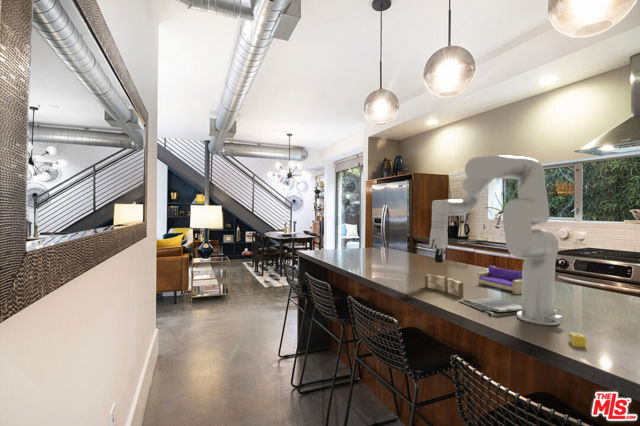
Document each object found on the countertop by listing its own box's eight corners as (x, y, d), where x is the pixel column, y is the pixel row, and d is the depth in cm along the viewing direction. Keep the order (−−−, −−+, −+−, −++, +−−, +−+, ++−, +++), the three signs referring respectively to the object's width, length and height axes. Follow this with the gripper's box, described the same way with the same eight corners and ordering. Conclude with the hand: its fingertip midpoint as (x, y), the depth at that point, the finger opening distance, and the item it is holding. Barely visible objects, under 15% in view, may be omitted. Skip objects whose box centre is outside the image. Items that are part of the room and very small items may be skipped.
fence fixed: (463, 298, 140) (463, 282, 140) (460, 298, 139) (460, 282, 139) (447, 291, 151) (447, 276, 151) (444, 291, 151) (444, 276, 151)
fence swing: (445, 290, 152) (445, 276, 151) (444, 291, 150) (444, 277, 150) (426, 286, 159) (426, 273, 159) (424, 287, 158) (424, 274, 158)
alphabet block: (580, 343, 94) (580, 332, 94) (585, 347, 91) (586, 336, 91) (568, 342, 95) (568, 331, 95) (573, 346, 92) (573, 335, 92)
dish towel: (492, 301, 139) (492, 293, 139) (530, 314, 122) (530, 305, 122) (456, 304, 133) (456, 297, 133) (491, 319, 116) (491, 310, 116)
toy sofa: (476, 285, 166) (476, 265, 166) (488, 284, 169) (488, 264, 169) (515, 295, 146) (515, 273, 146) (528, 294, 150) (528, 271, 150)
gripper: (440, 224, 167) (439, 259, 168) (424, 225, 157) (423, 263, 158) (454, 225, 161) (453, 261, 162) (439, 226, 151) (438, 265, 152)
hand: (438, 262), depth 160 cm, fingers closed
